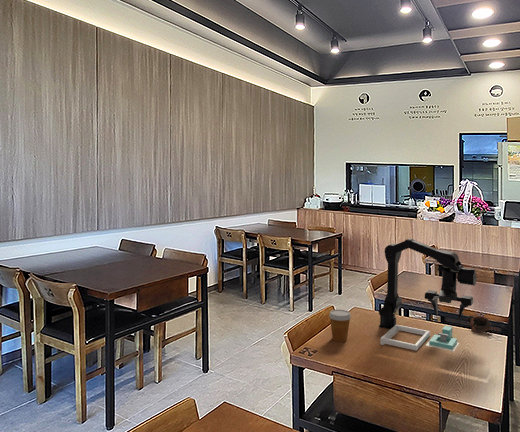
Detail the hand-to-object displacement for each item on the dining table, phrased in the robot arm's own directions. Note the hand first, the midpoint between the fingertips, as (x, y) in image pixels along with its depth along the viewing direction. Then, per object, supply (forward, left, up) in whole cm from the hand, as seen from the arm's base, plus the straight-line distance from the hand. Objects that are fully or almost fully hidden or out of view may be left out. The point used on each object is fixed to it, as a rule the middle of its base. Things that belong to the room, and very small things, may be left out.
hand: (447, 317), depth 189 cm
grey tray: (-14, -11, -10) cm, 21 cm away
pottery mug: (+9, +20, -11) cm, 24 cm away
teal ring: (0, -5, -9) cm, 10 cm away
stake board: (0, -8, -10) cm, 13 cm away
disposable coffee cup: (-39, -25, -11) cm, 48 cm away
